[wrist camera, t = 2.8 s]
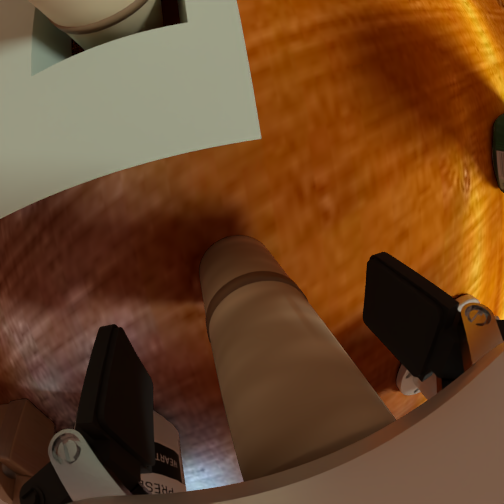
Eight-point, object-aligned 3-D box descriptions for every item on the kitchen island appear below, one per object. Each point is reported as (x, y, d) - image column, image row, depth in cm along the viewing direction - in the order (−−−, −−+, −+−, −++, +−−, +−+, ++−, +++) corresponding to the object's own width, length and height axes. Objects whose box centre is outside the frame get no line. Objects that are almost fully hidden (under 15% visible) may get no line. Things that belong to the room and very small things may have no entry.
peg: (268, 226, 13) (422, 392, 4) (277, 292, 14) (381, 459, 5) (189, 245, 12) (225, 472, 3) (208, 310, 14) (257, 506, 5)
